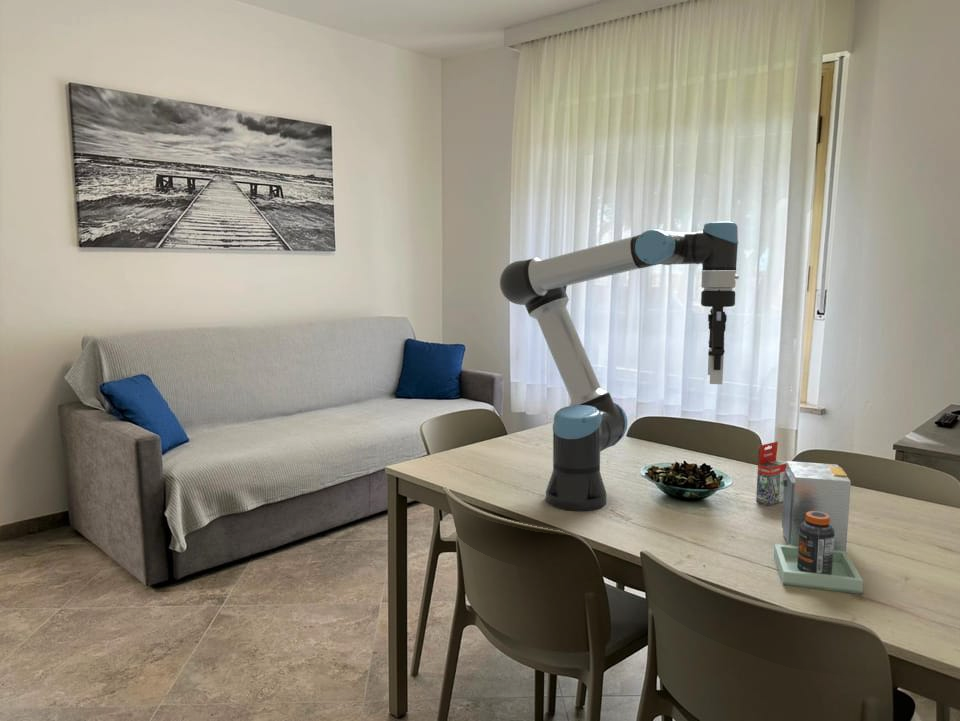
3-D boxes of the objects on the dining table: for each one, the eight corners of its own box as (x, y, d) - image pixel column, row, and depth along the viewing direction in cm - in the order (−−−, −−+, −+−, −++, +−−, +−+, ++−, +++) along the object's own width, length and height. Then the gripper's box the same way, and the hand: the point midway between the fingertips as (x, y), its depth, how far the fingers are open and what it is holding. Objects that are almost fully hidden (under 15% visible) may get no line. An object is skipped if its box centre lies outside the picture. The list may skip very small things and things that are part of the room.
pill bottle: (790, 565, 129) (794, 509, 127) (819, 563, 129) (823, 507, 128) (808, 579, 123) (811, 520, 121) (838, 577, 123) (842, 519, 122)
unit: (786, 552, 136) (791, 475, 134) (778, 530, 147) (782, 459, 145) (847, 558, 133) (852, 480, 130) (834, 536, 144) (839, 463, 142)
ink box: (787, 500, 167) (790, 444, 165) (768, 506, 162) (771, 448, 160) (774, 496, 170) (777, 440, 168) (755, 502, 165) (758, 445, 163)
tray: (782, 584, 122) (783, 571, 122) (773, 555, 134) (774, 544, 134) (862, 594, 118) (863, 580, 118) (845, 563, 130) (846, 551, 130)
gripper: (739, 291, 142) (735, 388, 145) (731, 288, 165) (728, 372, 168) (702, 290, 144) (699, 387, 147) (700, 288, 168) (697, 371, 170)
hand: (714, 379), depth 158 cm, fingers open, 13 cm apart
